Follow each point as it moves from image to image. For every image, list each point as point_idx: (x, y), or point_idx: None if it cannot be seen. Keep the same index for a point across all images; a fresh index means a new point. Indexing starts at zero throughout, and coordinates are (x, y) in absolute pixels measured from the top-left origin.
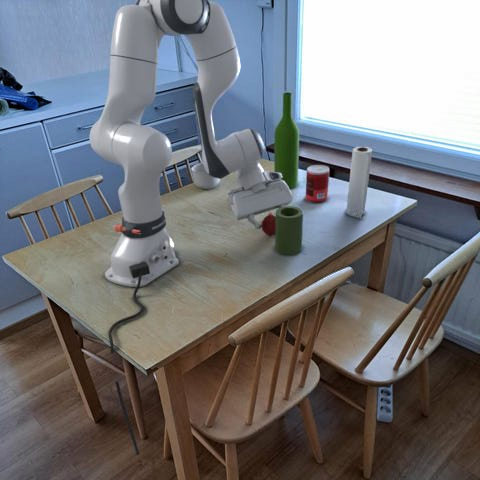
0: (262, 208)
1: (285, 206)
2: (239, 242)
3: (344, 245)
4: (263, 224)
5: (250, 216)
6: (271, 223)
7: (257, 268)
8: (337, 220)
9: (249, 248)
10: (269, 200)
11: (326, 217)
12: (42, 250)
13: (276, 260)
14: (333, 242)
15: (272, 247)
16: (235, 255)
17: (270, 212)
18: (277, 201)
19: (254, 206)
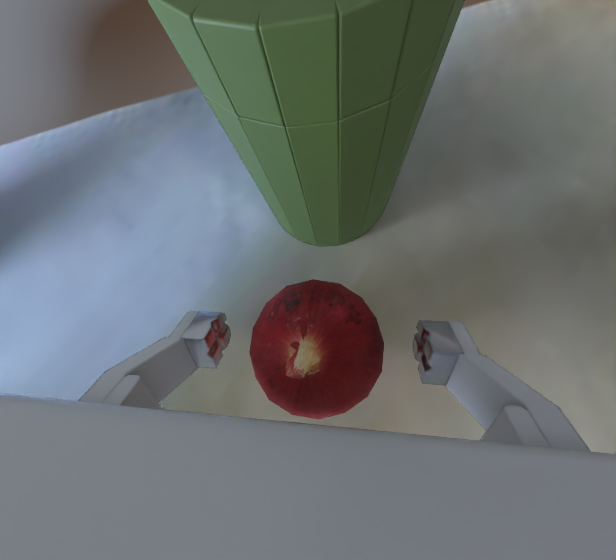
0: (378, 446)
1: (219, 16)
2: None
3: (147, 102)
4: (382, 348)
5: (568, 430)
6: (342, 293)
7: (549, 125)
8: (7, 270)
9: (492, 300)
10: (184, 537)
11: (10, 323)
12: None
13: (433, 138)
14: (157, 138)
15: (382, 240)
16: (603, 283)
17: (297, 363)
18: (103, 451)
19: (546, 555)
